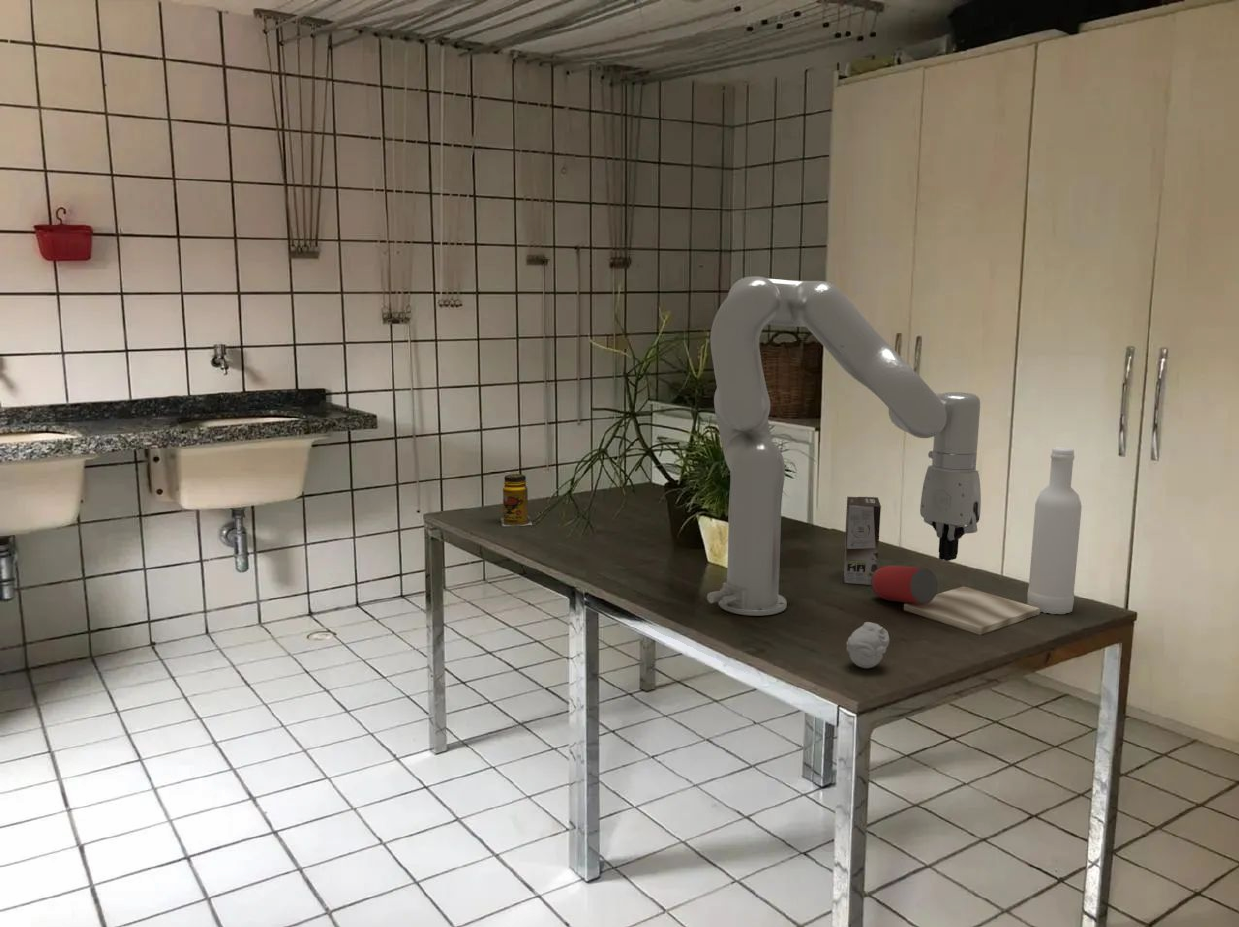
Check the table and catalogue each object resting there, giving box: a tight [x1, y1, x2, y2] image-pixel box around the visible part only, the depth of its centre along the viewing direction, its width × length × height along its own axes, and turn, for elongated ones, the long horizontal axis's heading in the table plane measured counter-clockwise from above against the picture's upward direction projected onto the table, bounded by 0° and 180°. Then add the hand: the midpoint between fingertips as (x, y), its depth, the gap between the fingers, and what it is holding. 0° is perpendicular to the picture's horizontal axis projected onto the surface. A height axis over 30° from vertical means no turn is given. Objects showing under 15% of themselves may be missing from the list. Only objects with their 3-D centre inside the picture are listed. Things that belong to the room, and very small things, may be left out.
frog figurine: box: [846, 621, 890, 669], centre depth 156 cm, size 6×7×7 cm
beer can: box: [870, 565, 939, 604], centre depth 185 cm, size 7×7×12 cm
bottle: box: [1026, 446, 1083, 615], centre depth 182 cm, size 8×8×30 cm
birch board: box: [903, 585, 1041, 636], centre depth 182 cm, size 18×16×1 cm
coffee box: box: [843, 496, 882, 586], centre depth 202 cm, size 9×6×16 cm
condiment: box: [500, 473, 533, 527], centre depth 247 cm, size 7×8×12 cm
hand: (947, 558), depth 184 cm, fingers closed
